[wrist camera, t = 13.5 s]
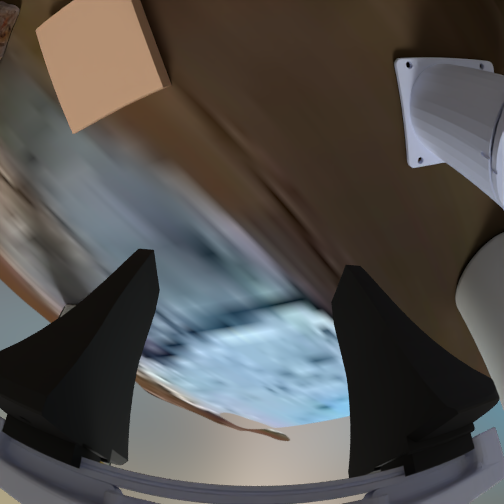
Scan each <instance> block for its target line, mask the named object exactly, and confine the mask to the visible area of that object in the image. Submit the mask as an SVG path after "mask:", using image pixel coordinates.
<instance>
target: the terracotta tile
mask: <svg viewBox="0 0 504 504" xmlns="http://www.w3.org/2000/svg"><path fill="white" fill-rule="evenodd" d="M36 33H37V37H38V40H39V44H40V47H41V50H42V53H43V57H44V60H45V63H46V66H47V69H48V72H49V74H50V77H51V80H52V83H53V86H54V88H55V91H56V94H57V96H58V99H59V101H60V104H61V106H62V109H63V111H64V114H65V116H66V119H67V121H68V123H69V126H70V128H71V130H72V133H73V134H75V133H77V132H79V131H81V130H82V129H84V128H86V127H88V126H90V125H91V124H93V123H95V122H97V121H98V120H100V119H102V118H104V117H106V116H108V115H109V114H111V113H113V112H115V111H117V110H119V109H121V108H123V107H125V106H127V105H129V104H131V103H133V102H135V101H137V100H139V99H141V98H144V97H146V96H148V95H150V94H152V93H155V92H157V91H159V90H162V89H164V88H166V87H169V86H171V82H170V79H169V77H168V74H167V72H166V69H165V66H164V64H163V61H162V58H161V55H160V53H159V50H158V47H157V45H156V42H155V39H154V37H153V34H152V31H151V28H150V26H149V23H148V20H147V17H146V15H145V12H144V9H143V6H142V4H141V1H140V0H73V1H72V2H70V3H69V4H68V5H66V6H65V7H64V8H62V9H61V10H60V11H58V12H57V13H56V14H54V15H53V16H52V17H51V18H49V19H48V20H47V21H46V22H44V23H43V24H42V25H41V26H40V27H38V28H37V29H36Z"/></svg>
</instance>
